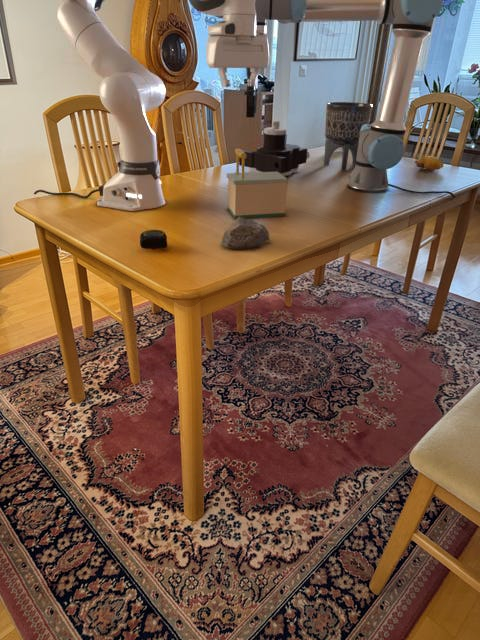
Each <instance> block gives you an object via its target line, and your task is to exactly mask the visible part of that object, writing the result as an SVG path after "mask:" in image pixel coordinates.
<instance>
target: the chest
mask: <svg viewBox="0 0 480 640" xmlns="http://www.w3.org/2000/svg"><path fill="white" fill-rule="evenodd" d="M227 185H228V186H227V189H228V190H227V194H228V195H227V210H228V211H229V213H230V214H231V216H232V217H233V219H234V220H237V218H238V217H242V218H245V219H258V218H275V217H286V206H287V205H286V204H287V191H288V181H287V182H286V183H261V184H237V185H234V184H233V183H232V182H231V181H230V180H229V179H228V178H227Z"/></svg>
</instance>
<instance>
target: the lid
mask: <svg viewBox="0 0 480 640" xmlns="http://www.w3.org/2000/svg"><path fill="white" fill-rule="evenodd" d="M234 153H235V155H236V157H235V159H236V161H235V165H236V166H235V167H236V168H235V172H227V173H226V178H227V180H228V179H229V180H230V181H231V182H232V183H233V184H234V185H237V184H261V183H286V182H287V183H288V178H287V177H286V176H283V175H281V174H280V173H279V172H256V171H255V172H245V166H244V164H245V158H246V157H247V155H246V154H245V153H244V152H243V151H242V149H240V148H238V147H237V148H235V150H234ZM239 157H240V158H242V166H241V172H240V165H239Z"/></svg>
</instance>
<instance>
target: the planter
mask: <svg viewBox="0 0 480 640" xmlns="http://www.w3.org/2000/svg"><path fill="white" fill-rule="evenodd" d="M373 107H374V106H373V104H372V103H367V102H353V101H333V102H327V103H326V109H325V124H324V125H325V126H324V139H325V144H324V156H323V157H324V158H323V165H325V166H328V165H330V163H331V158H332V156H333V154H334V153H335V151H336V149H338V148H340V147H342V151H341V152H342V153H341V166H340V170H341V172H345V171H347V167H348V166H347V165H348V159H349V152H350V154H351V157H352V158H351V159H352V160H351V161H352V166H353V167H355V165H356V158H357V151H358V144H359V137H360V135H359V133H360V130H361V127H362V126H363V125H364V124H370V121H371V116H372V112H373Z"/></svg>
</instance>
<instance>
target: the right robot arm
mask: <svg viewBox="0 0 480 640" xmlns="http://www.w3.org/2000/svg"><path fill="white" fill-rule="evenodd" d="M443 3H444V0H256V1H255V10H256V30H263V31H264V32H265V33H266V34H267V20H269V21H271V20H272V21H277V22H278V23H279V24H283V25H286V24H287V25H288V24H290V23H291V24H294V23H298V24H299V23H325V22H326V23H329V22H330V23H331V22H374V21H375V22H376V23H377V24H378V25H392V27H391V32H392V35H393V36H394V41H393V45H392V50H391V54H390V59H389V64H388V68H387V72H386V77H385V81H384V85H383V90H382V95H381V100H380V104H379V107H378V113H377V118H376V120H374V121H373V122H372V123H371V124H370V123H369V124H364V125H363V126H362V127H361V130H360V133H359V135H360V137H359V144H358V151H357V158H356V165H355V166H354V167H353V171H351V174H350V175H349V176H348V177H349V178H348V182H347V187H348V188H349V189H351V190H354V191H358V192H363V193H364V192H365V193H382V192H386V191H388V189H389V187H391V188H395V189H397V190H399V191H403V192H407V193H412V194H419V195H420V194H421V195H424V194H448V195H450V196H452V197H453V198H456V195H455V194H454V193H453V192H451V191H448V190H440V191H436V190H431V191H420V190H419V191H418V190H410V189H406V188H402V187H400V186H397V185H394V184H390V183H389V178H388V173H387V172H388V171H387V170H389V169H391V168H393V167H396V166H397V165H398V164H399V163H400V162H401V160H402V159H403V157H404V154H405V143H404V138H405V134H406V131H407V128H406V126H405V124H404V120H405V116H406V111H407V107H408V104H409V100H410V95H411V91H412V88H413V83H414V79H415V76H416V71H417V67H418V64H419V60H420V55H421V51H422V48H423V42H424V40H425V39H426V38H427V37H428V36H429V35H430V34H431V32H432V28H433V24H434V21H435V18H437V16H438V15H439V14H440V12H441V9H442V7H443ZM257 35H259V34H257ZM264 35H265V34H264ZM251 73H252V72H250V68H246V77H247V79H250V76H251ZM258 76H259V74H258V75H257V77H256V79H255V86H248V85H247V83H248V82H247V81H246V82H247V83H246V91H244V96H246V105H245V106H246V107H245V108H246V109H245V111H246V112H245V113H246V115H245V118H252V119H253V118H256V117H255V116H256V114H257V111H258V110H257V108H258V93H260V89H259V88H258ZM247 79H246V80H247Z"/></svg>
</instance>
